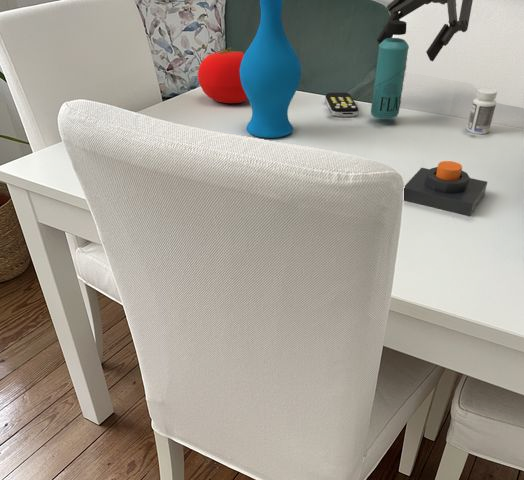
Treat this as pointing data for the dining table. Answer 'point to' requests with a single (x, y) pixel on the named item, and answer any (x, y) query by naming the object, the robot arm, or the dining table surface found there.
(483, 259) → the dining table surface
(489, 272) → the dining table surface
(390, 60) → the beverage bottle
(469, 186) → the dark grey mounting base
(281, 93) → the vase
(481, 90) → the pill bottle
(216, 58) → the tomato
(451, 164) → the button
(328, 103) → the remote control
